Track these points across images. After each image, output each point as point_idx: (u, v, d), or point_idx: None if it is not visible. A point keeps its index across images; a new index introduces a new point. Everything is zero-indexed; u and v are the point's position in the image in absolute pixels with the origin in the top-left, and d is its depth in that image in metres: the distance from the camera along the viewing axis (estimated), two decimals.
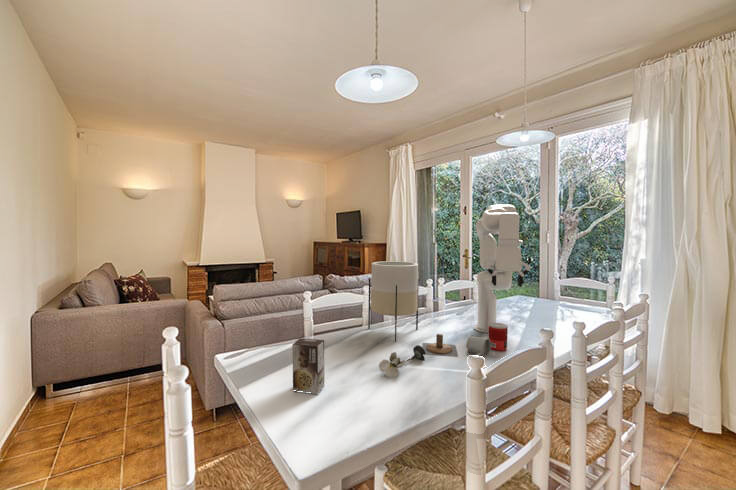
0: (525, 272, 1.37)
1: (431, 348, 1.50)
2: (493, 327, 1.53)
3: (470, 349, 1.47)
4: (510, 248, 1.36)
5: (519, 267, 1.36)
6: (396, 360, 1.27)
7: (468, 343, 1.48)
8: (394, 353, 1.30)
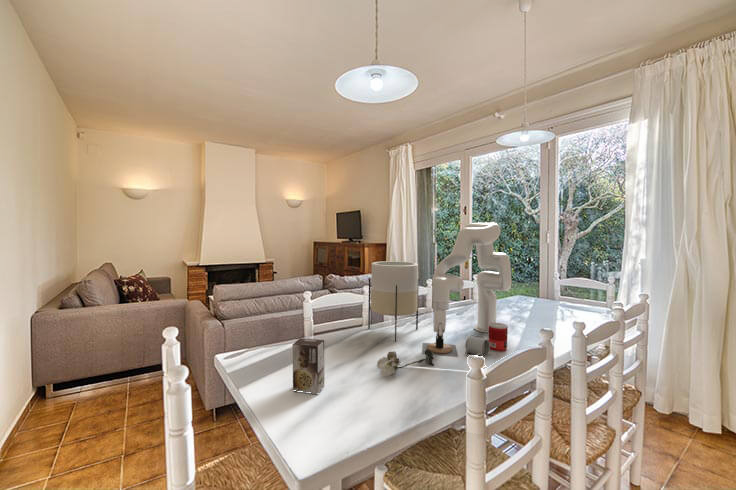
0: None
1: (431, 348, 1.50)
2: (493, 327, 1.53)
3: (469, 350, 1.47)
4: None
5: None
6: (392, 359, 1.28)
7: (467, 344, 1.47)
8: (393, 352, 1.30)
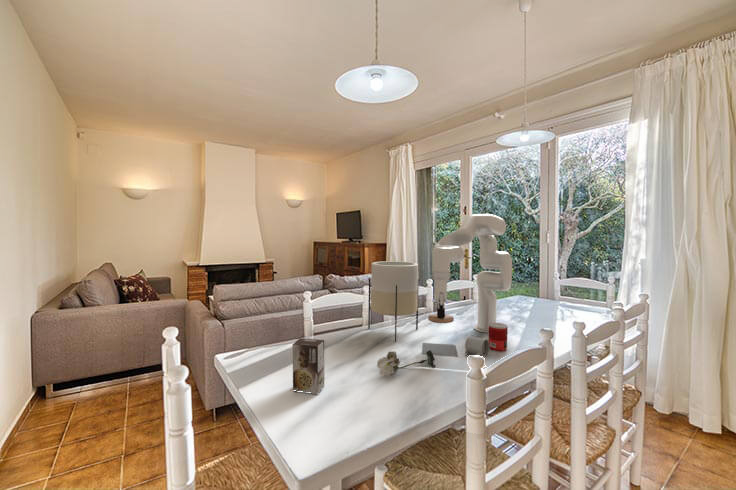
0: None
1: (432, 318, 1.50)
2: (493, 327, 1.53)
3: (468, 350, 1.46)
4: None
5: None
6: (392, 359, 1.28)
7: (466, 344, 1.47)
8: (393, 352, 1.30)
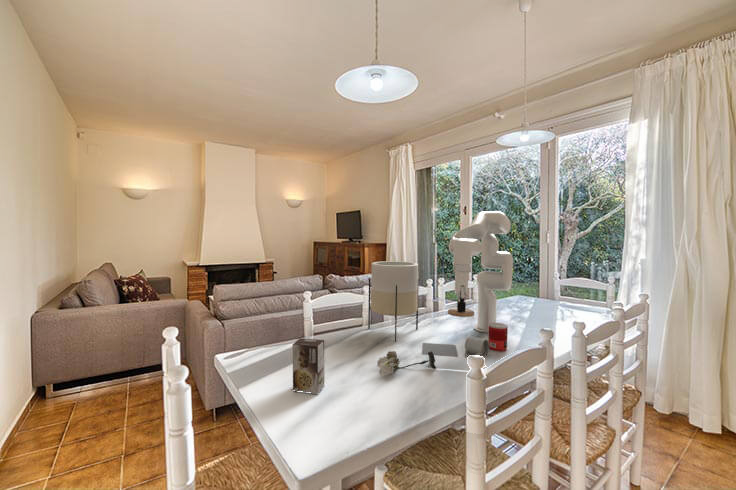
0: None
1: (453, 312, 1.47)
2: (493, 327, 1.53)
3: (468, 350, 1.46)
4: None
5: None
6: (392, 359, 1.28)
7: (466, 344, 1.47)
8: (393, 352, 1.30)
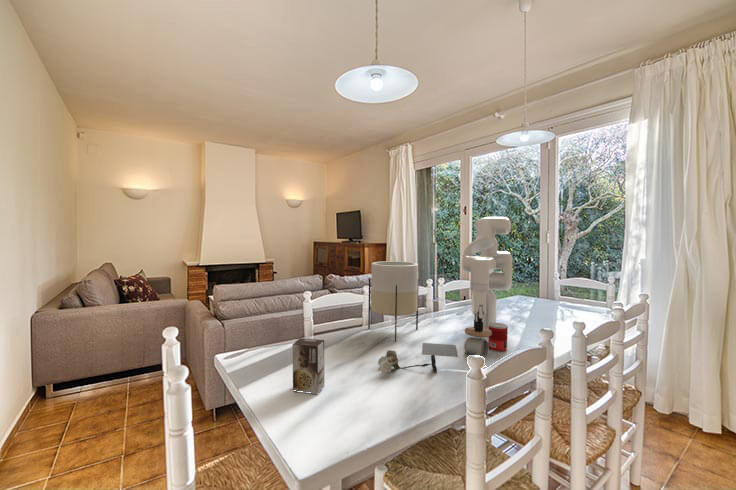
0: None
1: (470, 331, 1.45)
2: (493, 327, 1.53)
3: (468, 350, 1.46)
4: None
5: None
6: (390, 358, 1.29)
7: (466, 344, 1.47)
8: (393, 351, 1.31)
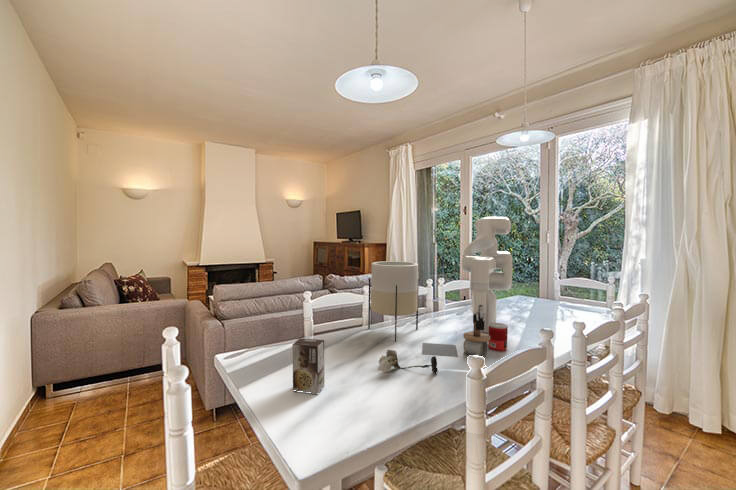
0: None
1: (469, 336, 1.45)
2: (493, 327, 1.53)
3: (467, 350, 1.46)
4: None
5: None
6: (389, 357, 1.29)
7: (465, 344, 1.46)
8: (394, 351, 1.31)
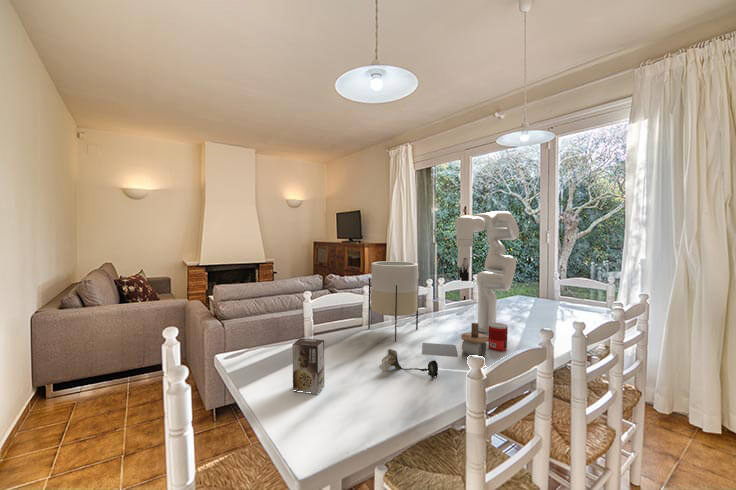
0: None
1: (467, 337, 1.43)
2: (493, 327, 1.53)
3: (465, 351, 1.45)
4: None
5: None
6: (389, 357, 1.30)
7: (463, 345, 1.46)
8: (394, 351, 1.32)
